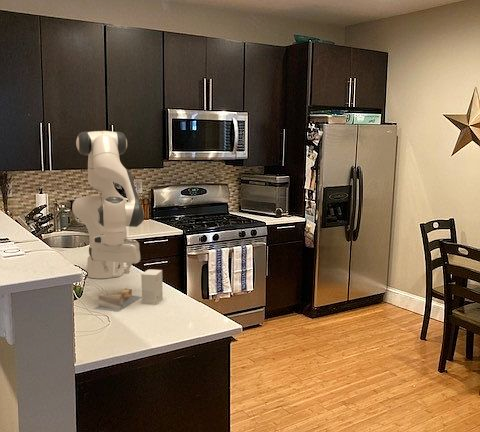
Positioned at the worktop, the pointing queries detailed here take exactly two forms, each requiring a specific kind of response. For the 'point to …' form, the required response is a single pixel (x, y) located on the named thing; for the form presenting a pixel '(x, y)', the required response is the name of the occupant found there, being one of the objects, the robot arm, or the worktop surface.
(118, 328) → the worktop surface
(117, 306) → the wooden t-shaped stand
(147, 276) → the small box
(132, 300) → the mat
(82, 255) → the worktop surface
